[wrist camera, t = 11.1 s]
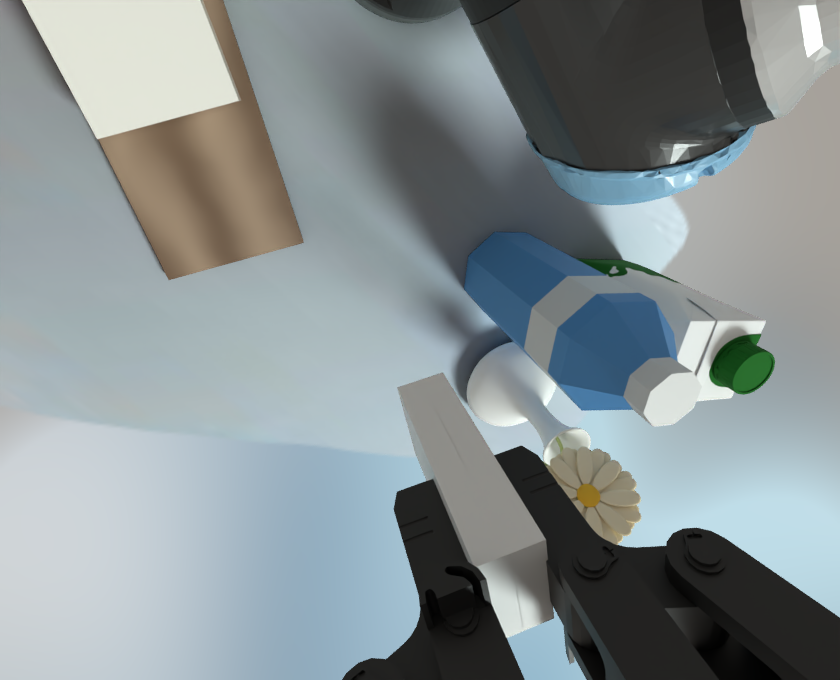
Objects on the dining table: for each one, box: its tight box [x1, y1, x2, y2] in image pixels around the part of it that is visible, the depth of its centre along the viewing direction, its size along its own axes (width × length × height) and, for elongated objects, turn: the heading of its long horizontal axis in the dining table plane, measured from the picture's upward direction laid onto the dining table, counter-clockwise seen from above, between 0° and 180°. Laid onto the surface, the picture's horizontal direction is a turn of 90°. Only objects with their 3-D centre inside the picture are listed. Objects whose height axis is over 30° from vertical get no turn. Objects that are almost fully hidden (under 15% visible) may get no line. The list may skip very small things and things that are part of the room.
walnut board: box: [98, 0, 304, 280], centre depth 36 cm, size 12×25×1 cm, turn 12°
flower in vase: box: [467, 342, 641, 545], centre depth 46 cm, size 13×11×25 cm
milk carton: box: [577, 259, 775, 401], centre depth 46 cm, size 9×9×20 cm
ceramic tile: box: [22, 0, 241, 139], centre depth 32 cm, size 3×10×13 cm
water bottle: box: [464, 232, 702, 427], centre depth 40 cm, size 9×9×25 cm
